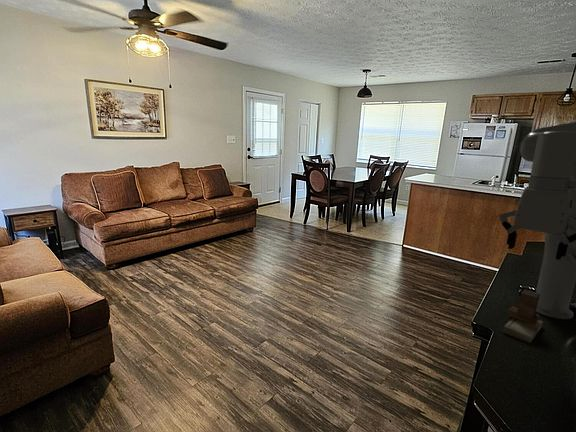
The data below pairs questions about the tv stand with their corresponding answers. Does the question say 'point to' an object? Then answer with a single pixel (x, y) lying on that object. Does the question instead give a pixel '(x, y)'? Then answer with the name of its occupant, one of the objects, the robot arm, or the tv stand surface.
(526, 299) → the brown slider knob
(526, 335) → the board
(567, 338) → the tv stand surface
